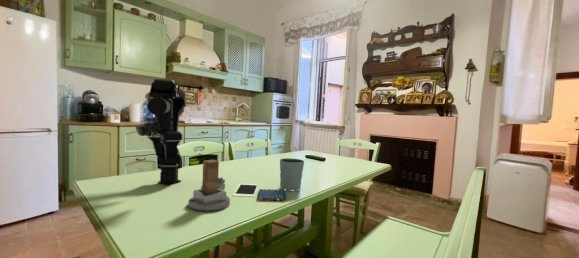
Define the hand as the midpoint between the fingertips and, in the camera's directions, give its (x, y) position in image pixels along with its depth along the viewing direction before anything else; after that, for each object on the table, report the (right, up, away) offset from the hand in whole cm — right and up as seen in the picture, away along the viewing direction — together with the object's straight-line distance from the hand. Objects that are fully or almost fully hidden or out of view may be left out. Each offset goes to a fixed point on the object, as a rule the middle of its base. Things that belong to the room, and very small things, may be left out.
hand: (162, 157), depth 93 cm
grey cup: (+46, -15, +16) cm, 51 cm away
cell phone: (+29, -15, +10) cm, 34 cm away
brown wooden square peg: (+20, -13, -8) cm, 25 cm away
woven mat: (+39, -16, +3) cm, 42 cm away
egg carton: (+15, -14, +12) cm, 24 cm away
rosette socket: (+20, -15, -8) cm, 26 cm away
